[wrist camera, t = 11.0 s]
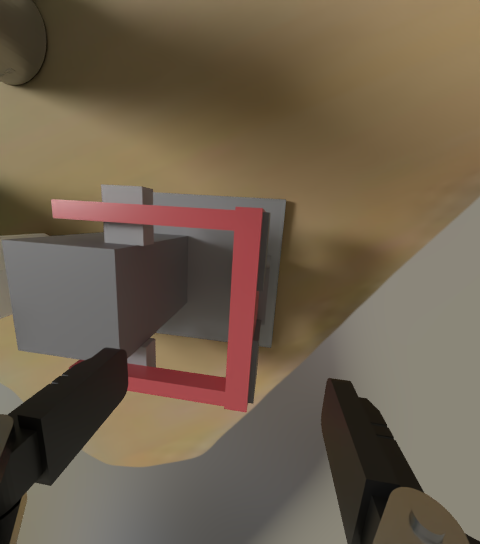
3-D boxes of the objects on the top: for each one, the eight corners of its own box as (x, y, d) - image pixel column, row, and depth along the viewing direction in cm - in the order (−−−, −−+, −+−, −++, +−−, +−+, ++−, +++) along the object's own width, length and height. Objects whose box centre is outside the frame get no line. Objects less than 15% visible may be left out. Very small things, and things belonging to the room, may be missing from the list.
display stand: (285, 200, 26) (297, 179, 12) (271, 343, 30) (268, 446, 16) (122, 191, 28) (-18, 165, 15) (127, 325, 32) (20, 402, 19)
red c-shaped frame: (271, 211, 19) (269, 208, 14) (257, 370, 22) (252, 413, 17) (103, 201, 21) (50, 195, 16) (112, 349, 24) (70, 383, 19)
